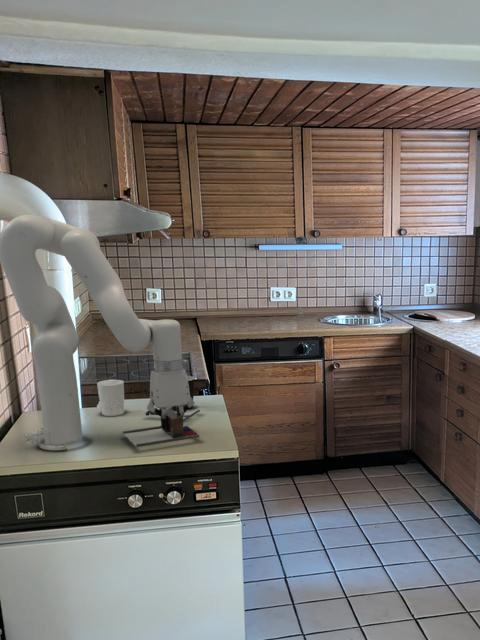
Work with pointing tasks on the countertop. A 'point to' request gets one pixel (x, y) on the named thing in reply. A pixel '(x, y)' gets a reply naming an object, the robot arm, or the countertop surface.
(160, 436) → the memo board
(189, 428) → the smudge navy
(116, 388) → the white cup
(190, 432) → the smudge maroon
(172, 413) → the eraser
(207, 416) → the countertop surface
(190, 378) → the coffee mug
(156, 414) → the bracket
